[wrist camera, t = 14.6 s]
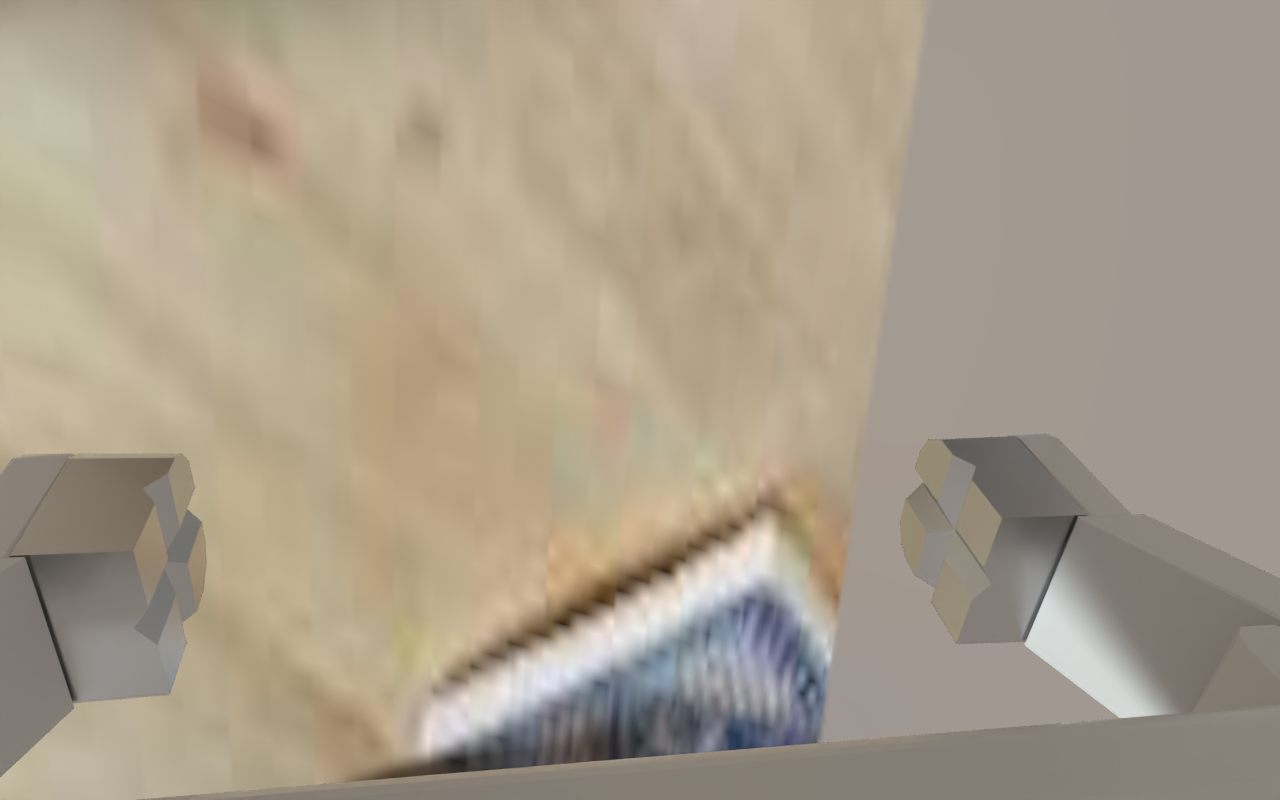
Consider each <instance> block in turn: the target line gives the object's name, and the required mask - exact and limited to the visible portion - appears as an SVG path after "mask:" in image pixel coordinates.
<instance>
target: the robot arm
mask: <svg viewBox="0 0 1280 800" xmlns="http://www.w3.org/2000/svg"><path fill="white" fill-rule="evenodd" d="M915 470H916V471H917V473H918V475H919V477H920V479H921V481H922V484H921V485H920V486H919V487H918V488H917V489H916V490H915V491H914V492H912V494H910V495H909V496H908V497H907V498H906V501H905V504H904V508H903V513H902V516H901V520H900V527H901V545H902V548H903V551H904V555H905V558H906V561H907V562H908V564H909V566H910V568H911V569H912V571H913V573H914V575H915V576H917V577H918V578H920V579H921V580H923V581H925V582H926V583H928V584H929V585H931V586H932V587H934V588H935V591H934V594H933V597H932V601H931V603H932V605H933V607H934V608H935V610H936V612H937V613H938V615H939V617H940V618H941V620H942V622H943V623H944V625H945V626H946V628H947V630H948V631H949V633H950V635H951V636H952V638H953V640H954V641H955V643H956V644H974V643H1001V642H1026V643H1025V646H1027V647H1028V648H1029V649H1030V650H1032V651H1033V652H1034V653H1036V654H1037V655H1038V656H1040V657H1041V658H1042V659H1043V660H1045V661H1046V662H1047V663H1049V664H1050V665H1051V666H1053V667H1054V668H1055V669H1057V670H1058V671H1059V672H1060V673H1062V674H1063V675H1065V676H1066V677H1067V678H1068V679H1070V680H1071V681H1072V682H1074V683H1075V684H1076V685H1077V686H1079V687H1080V688H1081V689H1083V690H1084V691H1086V692H1087V693H1088V694H1089V695H1091V696H1092V697H1093V698H1094V699H1096V700H1097V701H1098V702H1100V703H1101V704H1102V705H1104V706H1105V707H1106V708H1108V709H1109V710H1110V711H1111V712H1113V713H1114V714H1116V715H1117V716H1118V717H1119V718H1117V719H1105V720H1093V721H1081V722H1069V723H1057V724H1045V725H1034V726H1022V727H1009V728H996V729H984V730H972V731H961V732H948V733H936V734H924V735H912V736H900V737H888V738H876V739H865V740H852V741H839V742H827V743H815V744H802V745H790V746H778V747H765V748H753V749H741V750H729V751H716V752H704V753H692V754H679V755H667V756H655V757H643V758H630V759H618V760H606V761H594V762H581V763H569V764H557V765H545V766H533V767H521V768H509V769H497V770H485V771H474V772H462V773H450V774H438V775H426V776H414V777H402V778H390V779H379V780H367V781H355V782H343V783H331V784H319V785H307V786H296V787H284V788H272V789H260V790H248V791H236V792H224V793H213V794H201V795H189V796H176V797H164V798H151V799H138V800H1280V578H1278V577H1276V576H1274V575H1272V574H1270V573H1268V572H1265V571H1263V570H1261V569H1259V568H1257V567H1255V566H1253V565H1250V564H1248V563H1246V562H1244V561H1242V560H1240V559H1238V558H1236V557H1234V556H1231V555H1229V554H1227V553H1225V552H1223V551H1221V550H1219V549H1217V548H1214V547H1212V546H1210V545H1208V544H1206V543H1204V542H1201V541H1200V540H1197V539H1195V538H1193V537H1191V536H1189V535H1187V534H1185V533H1183V532H1180V531H1178V530H1176V529H1174V528H1172V527H1170V526H1168V525H1165V524H1163V523H1161V522H1159V521H1157V520H1155V519H1152V518H1150V517H1148V516H1146V515H1144V514H1138V515H1137V514H1136V515H1132V514H1131V513H1130V512H1129V511H1128V510H1127V509H1126V508H1125V507H1124V506H1123V505H1122V504H1121V503H1120V502H1119V501H1118V500H1117V499H1116V498H1115V497H1114V496H1113V495H1112V494H1111V493H1110V492H1109V491H1108V489H1107V488H1106V487H1105V486H1104V485H1103V484H1102V483H1101V482H1100V481H1099V480H1098V479H1097V478H1096V477H1095V476H1094V475H1093V474H1092V473H1091V472H1090V471H1089V470H1088V469H1087V468H1086V467H1085V466H1084V465H1083V463H1082V462H1081V461H1080V460H1078V458H1077V457H1076V456H1075V455H1074V454H1073V453H1072V452H1071V451H1070V450H1069V449H1068V448H1067V447H1066V446H1065V445H1064V444H1063V443H1062V442H1061V441H1060V440H1059V439H1058V438H1056V437H1053V436H1051V435H1049V434H1031V435H1030V434H1029V435H1011V436H1007V437H982V438H955V439H930V440H928V441H927V442H926V444H925V445H924V446H923V448H922V449H921V450H920V453H919V457H918V460H917V463H916V466H915ZM194 489H195V485H194V481H193V477H192V472H191V468H190V464H189V461H188V460H187V459H186V458H185V457H184V455H183V454H77V455H74V454H33V455H21V456H19V457H16V458H13V459H12V460H11V461H10V462H9V463H8V464H7V466H6V467H5V469H4V470H3V471H2V473H1V474H0V777H1V776H2V775H3V774H4V773H5V772H6V771H7V770H9V769H10V768H11V767H12V766H13V765H14V764H15V763H16V762H17V761H18V760H19V759H20V758H21V757H22V756H23V755H25V754H26V753H27V752H28V751H29V750H30V749H31V748H32V747H33V746H34V745H35V744H36V743H37V742H38V741H39V740H41V739H42V738H43V737H44V736H45V735H46V734H47V733H48V732H49V731H50V730H51V729H52V728H53V727H54V726H55V725H57V724H58V723H59V722H60V721H61V720H62V719H63V718H64V717H65V716H66V715H67V714H68V713H69V712H70V711H71V710H73V709H74V704H73V703H81V702H92V701H103V700H115V699H126V698H137V697H148V696H159V695H170V692H171V689H172V686H173V683H174V680H175V677H176V674H177V671H178V668H179V665H180V662H181V659H182V656H183V653H184V650H185V647H186V644H187V642H186V638H185V633H184V628H183V624H182V622H184V621H185V620H186V619H187V618H189V617H190V616H191V615H193V614H194V613H195V612H196V611H197V610H198V607H199V603H200V600H201V597H202V593H203V590H204V582H205V573H206V564H207V561H206V543H205V536H204V531H203V525H202V522H201V521H200V520H199V519H198V518H197V517H196V516H194V515H193V514H192V513H191V512H190V511H189V510H187V508H188V505H189V502H190V500H191V497H192V494H193V492H194Z"/></svg>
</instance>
